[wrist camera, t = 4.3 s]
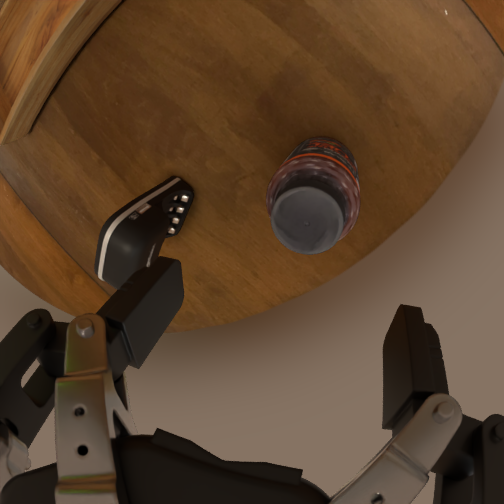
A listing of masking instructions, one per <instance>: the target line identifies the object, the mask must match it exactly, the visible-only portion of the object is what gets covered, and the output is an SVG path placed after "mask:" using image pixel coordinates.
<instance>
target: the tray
mask: <svg viewBox="0 0 504 504" xmlns="http://www.w3.org/2000/svg"><path fill="white" fill-rule="evenodd" d="M121 1H122V0H6V1H5V3H4V5H3V6H2V8H1V10H0V146H2V145H5V144H7V143H10V142H12V141H15V140H18V139H20V138H22V137H25V136H26V135H27V134H28V132H29V130H30V128H31V126H32V124H33V122H34V120H35V118H36V116H37V115H38V113H39V111H40V109H41V107H42V106H43V104H44V102H45V101H46V99H47V97H48V96H49V94H50V92H51V91H52V89H53V88H54V86H55V84H56V83H57V81H58V80H59V78H60V77H61V75H62V74H63V72H64V71H65V69H66V68H67V66H68V65H69V64H70V62H71V61H72V59H73V58H74V57H75V55H76V54H77V53H78V51H79V50H80V49H81V47H82V46H83V45H84V44H85V42H86V41H87V40H88V39H89V37H90V36H91V35H92V34H93V32H94V31H95V30H96V29H97V28H98V26H99V25H100V24H101V23H102V22H103V21H104V20H105V18H106V17H107V16H108V15H109V14H110V13H111V12H112V11H113V10H114V8H115V7H116V6H117V5H118V4H119V3H120V2H121Z"/></svg>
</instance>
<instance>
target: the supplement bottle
mask: <svg viewBox="0 0 504 504" xmlns="http://www.w3.org/2000/svg"><path fill="white" fill-rule="evenodd" d="M266 204H267V210H268V214H269V217H270V219H271V225H272V229H273V231H274V233H275V235H276V237H277V238H278V239H279V241H280V242H281V243H282V244H283V245H284V246H285V247H287V248H289V249H290V250H292V251H294V252H297V253H302V254H308V255H312V254H318V253H322V252H324V251H326V250H328V249H330V248H331V247H332V246H334V245H335V244H336V242H337V241H338V240H340V239H342V238H343V237H344V236H345V235H347V234H348V233H349V232H350V230H351V229H352V228H353V226H354V225H355V223H356V221H357V218H358V215H359V211H360V189H359V179H358V170H357V165H356V162H355V159H354V157H353V155H352V153H351V152H350V151H349V149H348V148H347V147H346V146H344V145H343V144H342V143H340V142H339V141H337V140H335V139H332V138H327V137H314V138H311V139H308V140H305V141H304V142H302V143H301V144H300V145H298V146H297V147H296V148H295V149H294V151H293V152H292V153H291V154H290V155H289V156H288V158H287V159H286V160H285V161H284V162H283V164H282V165H281V166H280V167H279V168H278V170H277V171H276V172H275V174H274V175H273V177H272V179H271V181H270V183H269V186H268V189H267V195H266Z"/></svg>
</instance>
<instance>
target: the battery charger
mask: <svg viewBox="0 0 504 504" xmlns="http://www.w3.org/2000/svg"><path fill="white" fill-rule="evenodd" d="M193 198H194V192H193V190H192V189H191V188H190V186H188V185H187V184H186V183H185V182H183V181H181V179H180V178H178V177H177V178H176V177H174V176H171V177H170V178H168V179H167V180H165V181H164V182H162V183H161V184H159V185H157V186H156V187H154V188H152V189H150V190H149V191H147V192H145V193H144V194H142V195H140V196H139V197H137V198H135V199H134V200H132V201H131V202H129V203H128V204H126V205H125V206H124V207H122V208H121V209H119V210H118V211H117V212H115V213H114V214H113V215H112V216H110V217H109V218H108V220H107V221H106V222H105V224H104V225H103V227H102V229H101V231H100V235H99V240H98V245H97V251H96V258H95V267H94V269H95V273H96V274H97V275H98V277H99V278H100V279H101V280H103V281H106V282H107V283H108V284H110V285H111V286H113V287H114V288H115V289H117V290H118V289H120V287H121V286H122V285H123V284H124V283H126V280H127V279H128V278H129V277H130V276H131V275H132V274H133V273H134V272H136V271H138V270H140V269H141V268H143V267H145V266H147V267H149V266H150V265H151V264H152V263H153V262H154V261H155V260H156V259H157V258H158V255H159V252H160V249H161V246H162V244H163V242H164V239H165V238H168V237H171V236H175V235H177V234H178V233H179V231H180V229H181V227H182V225H183V222H184V220H185V217H186V215H187V213H188V210H189V208H190V206H191V203H192V201H193Z"/></svg>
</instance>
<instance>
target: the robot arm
mask: <svg viewBox="0 0 504 504" xmlns="http://www.w3.org/2000/svg"><path fill="white" fill-rule="evenodd" d="M183 298H184V288H183V279H182V269H181V263H180V261H179V260H176V259H172V258H167V257H163V256H159V257H158V258H157V259H156V260H155V261H154V262H153V263H152V264H151V265H150V266H149V267H147V266H145V267H143V268H141V269H140V270H138V271H136V272H134V273H133V274H132V275H131V276H130V277H129V278H128V279H127V280H126V283H124V284H123V285H122V286H121V287H120V289H118V290H117V291H116V292H115V293H114V294H113V295H112V296H111V298H110V299H109V300H108V301H107V302H106V303H105V304H104V305H103V306H102V307H101V308H100V309H99V311H98V312H97V313H96V314H93V313H87V314H83V315H80V316H78V317H76V318H75V319H73V320H72V321H71V322H70V323H65V322H56V321H53V319H52V317H51V315H50V313H49V311H47V310H45V309H35V310H32V311H30V312H28V313H27V314H26V315H25V316H23V317H22V319H21V320H20V321H19V322H18V323H17V324H16V325H15V326H14V327H13V329H12V330H11V331H10V332H9V333H8V334H7V335H6V336H5V338H4V339H3V340H2V341H1V342H0V504H411V502H412V501H413V500H414V499H415V498H416V496H417V495H418V494H419V493H420V491H421V490H422V489H423V487H424V486H425V485H426V483H427V482H428V480H429V476H428V473H429V471H431V472H434V473H436V478H435V490H434V500H433V504H504V416H502V415H499V414H493V415H491V416H489V417H488V418H487V419H485V420H484V421H483V422H482V421H479V420H476V419H474V418H471V417H468V416H466V415H464V414H462V410H461V407H460V405H459V403H458V402H457V401H456V400H455V399H454V398H453V397H451V396H450V395H449V391H448V384H447V379H446V372H445V367H444V361H443V359H442V357H443V356H442V351H441V349H440V348H441V346H440V342H439V337H438V334H437V332H436V331H435V329H434V328H433V326H432V325H431V324H428V323H425V322H424V318H423V313H422V309H421V308H420V307H414V306H409V305H403V304H401V305H400V306H399V308H398V309H397V312H396V314H395V316H394V319H393V321H392V323H391V325H390V327H389V330H388V332H387V334H386V337H385V340H384V344H383V422H382V429H388V430H392V438H391V439H390V440H389V441H388V443H387V444H386V445H385V446H384V447H383V448H382V449H381V450H380V451H379V452H378V453H377V454H376V455H375V456H374V457H373V458H372V459H371V461H370V462H368V463H367V465H366V466H364V468H363V469H361V470H360V471H359V472H358V473H357V474H356V475H355V476H354V477H353V478H352V479H351V480H350V481H348V482H347V483H346V484H345V485H344V486H343V487H342V488H340V489H339V490H338V491H337V492H336V493H335V494H333V495H332V496H331V497H329V496H328V495H327V494H326V493H325V492H324V491H323V490H322V489H320V488H319V487H317V486H316V485H315V484H313V483H311V482H310V481H308V480H306V479H304V478H301V476H302V472H303V470H302V469H296V468H291V467H286V466H281V465H276V464H272V463H267V462H239V461H225V460H222V459H220V458H218V457H216V456H215V455H213V454H211V453H210V452H208V451H206V450H204V449H203V448H201V447H200V446H198V445H197V444H195V443H194V442H192V441H190V440H188V439H185V438H182V437H179V436H177V435H174V434H172V433H169V432H166V431H164V430H161V429H159V428H157V429H156V431H155V433H154V435H142V434H141V435H138V432H137V429H136V426H135V423H134V421H133V417H132V413H131V408H130V402H129V395H128V389H127V382H126V375H125V372H124V370H125V369H126V367H127V366H128V365H130V366H133V367H135V368H137V369H139V368H140V367H141V365H142V364H143V362H144V361H145V359H146V358H147V356H148V355H149V353H150V352H151V350H152V349H153V347H154V346H155V344H156V343H157V341H158V340H159V338H160V337H161V335H162V334H163V332H164V331H165V329H166V328H167V326H168V325H169V324H170V322H171V321H172V319H173V318H174V316H175V315H176V313H177V312H178V310H179V309H180V307H181V305H182V302H183ZM36 358H37V360H38V362H39V363H40V365H39V367H38V368H37V369H36V371H35V372H34V373H33V375H32V376H31V377H30V379H29V380H28V382H27V383H26V384H25V386H24V387H23V388H22V387H21V379H22V376H23V375H24V374H25V372H26V371H27V370H28V368H29V367H30V366H31V364H32V363H33V362H34V361H35V359H36ZM54 406H55V444H56V459H57V462H56V463H53V464H50V465H47V466H43V467H40V468H37V469H34V470H31V471H27V472H25V470H28V469H29V468H30V467H31V461H30V459H29V458H28V448H29V447H30V445H31V443H32V441H33V440H34V438H35V436H36V435H37V433H38V432H39V430H40V428H41V427H42V425H43V423H44V422H45V420H46V419H47V417H48V416H49V414H50V412H51V411H52V409H53V408H54Z"/></svg>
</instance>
